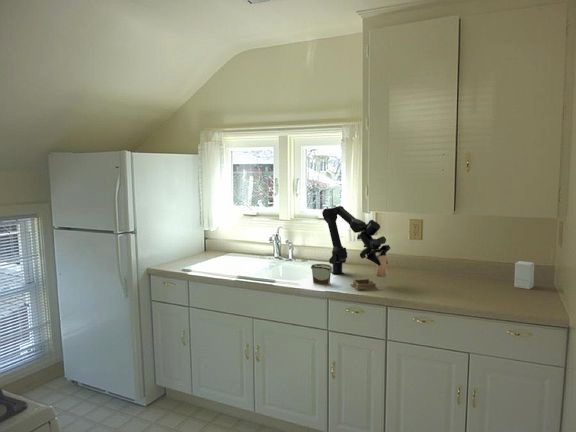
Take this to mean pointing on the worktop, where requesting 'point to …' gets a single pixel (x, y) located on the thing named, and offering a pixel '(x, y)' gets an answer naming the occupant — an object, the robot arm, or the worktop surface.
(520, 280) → the supplement box
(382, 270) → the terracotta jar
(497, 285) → the worktop surface
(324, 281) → the food container
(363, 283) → the walnut holder
